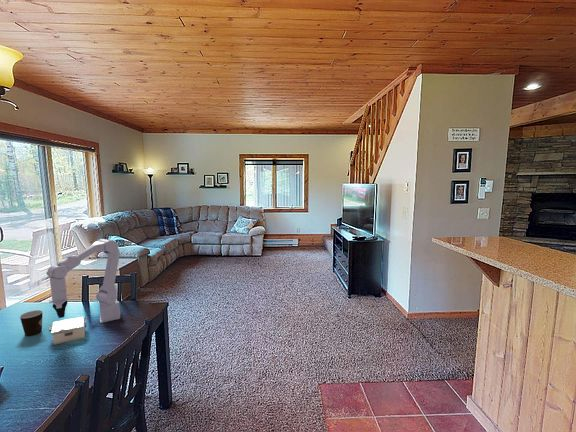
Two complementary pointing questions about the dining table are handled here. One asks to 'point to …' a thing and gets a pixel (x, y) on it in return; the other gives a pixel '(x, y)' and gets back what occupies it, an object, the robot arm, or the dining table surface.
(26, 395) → the dining table surface
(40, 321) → the coffee mug
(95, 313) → the dining table surface
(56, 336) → the white box
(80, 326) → the lid
